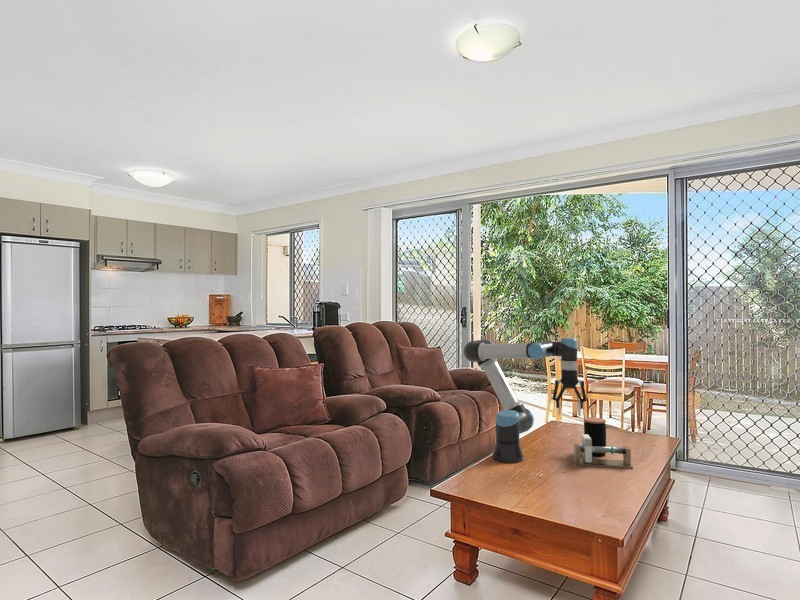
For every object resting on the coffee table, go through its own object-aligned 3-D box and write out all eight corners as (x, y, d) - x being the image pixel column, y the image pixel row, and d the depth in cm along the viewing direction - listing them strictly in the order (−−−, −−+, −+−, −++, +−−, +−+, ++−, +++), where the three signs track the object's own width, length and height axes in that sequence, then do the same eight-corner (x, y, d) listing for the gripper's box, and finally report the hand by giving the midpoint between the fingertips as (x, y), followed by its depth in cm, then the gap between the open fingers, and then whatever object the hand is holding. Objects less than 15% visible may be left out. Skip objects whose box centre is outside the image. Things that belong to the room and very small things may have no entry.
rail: (575, 465, 246) (575, 447, 246) (572, 459, 256) (572, 442, 256) (633, 468, 241) (632, 450, 241) (627, 462, 251) (627, 444, 251)
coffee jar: (602, 451, 270) (602, 417, 270) (609, 457, 259) (608, 422, 259) (582, 451, 271) (581, 417, 271) (587, 456, 260) (587, 421, 260)
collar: (585, 462, 245) (585, 439, 245) (581, 456, 255) (581, 434, 255) (591, 462, 244) (591, 439, 244) (588, 456, 254) (588, 434, 254)
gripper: (547, 369, 250) (547, 415, 250) (593, 370, 246) (593, 417, 246) (546, 367, 257) (546, 412, 257) (590, 368, 253) (590, 414, 253)
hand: (569, 414), depth 251 cm, fingers open, 9 cm apart
